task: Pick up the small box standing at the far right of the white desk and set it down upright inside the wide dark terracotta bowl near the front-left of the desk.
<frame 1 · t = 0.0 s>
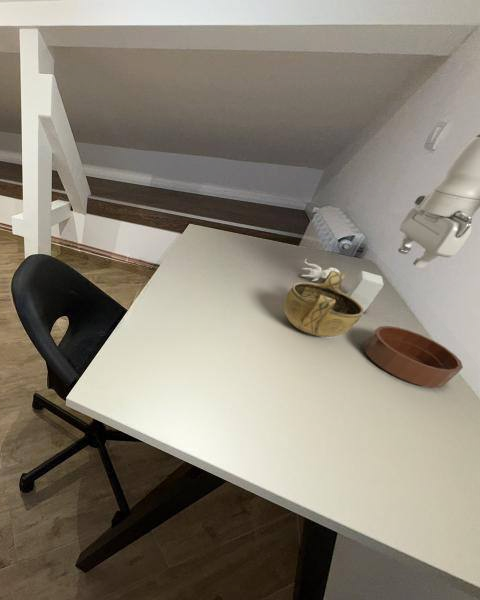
hand: (409, 259, 81), 23 cm above the table, tool pointing down, fingers open, 8 cm apart
ceramic bowl: (306, 328, 91), on the table
terracotta bowl: (400, 363, 81), on the table
small box: (353, 304, 105), on the table
figurine: (315, 279, 119), on the table
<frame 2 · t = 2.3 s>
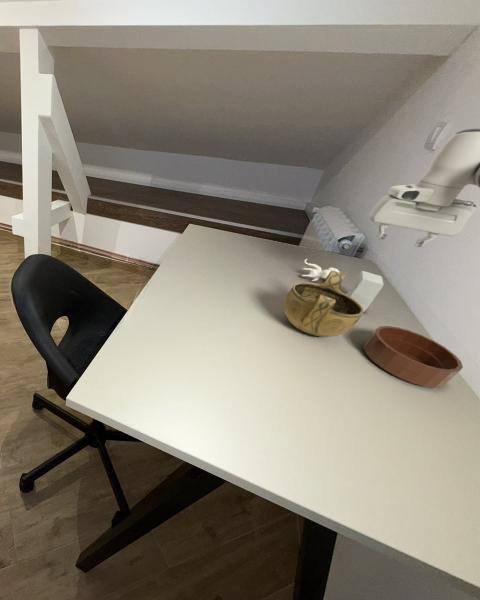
hand: (398, 242, 92), 23 cm above the table, tool pointing down, fingers open, 8 cm apart
nothing on the table moved.
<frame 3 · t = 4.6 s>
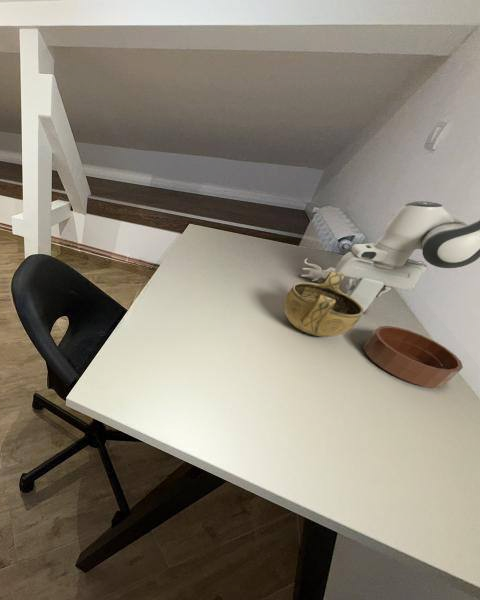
hand: (361, 292, 103), 5 cm above the table, tool pointing down, fingers closed on small box, 6 cm apart
small box: (353, 304, 105), on the table, touching gripper
everything else where it was.
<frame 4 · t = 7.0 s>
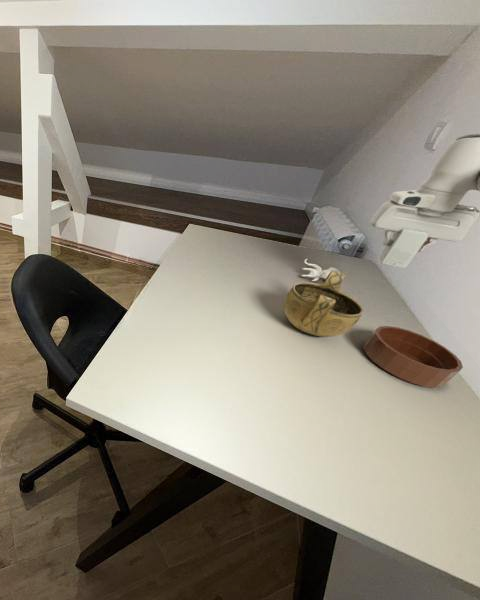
hand: (401, 248, 91), 22 cm above the table, tool pointing down, fingers closed on small box, 6 cm apart
small box: (390, 263, 94), point 17 cm above the table, touching gripper
everything else where it was.
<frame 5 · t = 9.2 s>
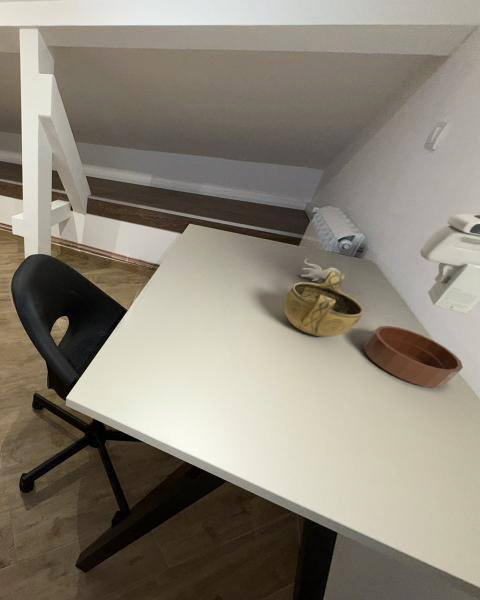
hand: (459, 286, 71), 22 cm above the table, tool pointing down, fingers closed on small box, 6 cm apart
small box: (444, 303, 73), point 17 cm above the table, touching gripper
everything else where it was.
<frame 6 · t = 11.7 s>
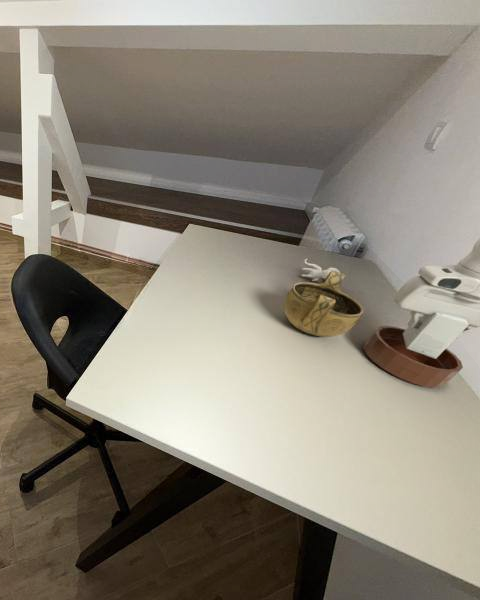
hand: (430, 331, 75), 11 cm above the table, tool pointing down, fingers closed on small box, 6 cm apart
small box: (417, 346, 78), point 6 cm above the table, touching gripper
everything else where it was.
when the fingers open (5 cm above the table, at t = 13.7 s): small box stays where it is, resting on terracotta bowl.
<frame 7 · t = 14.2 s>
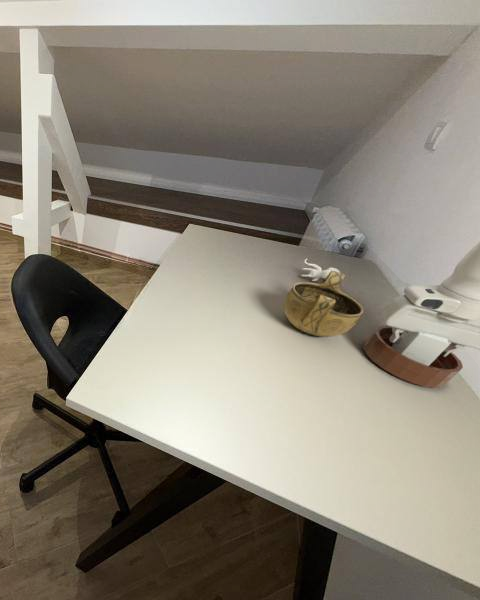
hand: (415, 348, 78), 6 cm above the table, tool pointing down, fingers open, 8 cm apart
small box: (402, 362, 81), resting on terracotta bowl
everything else where it was.
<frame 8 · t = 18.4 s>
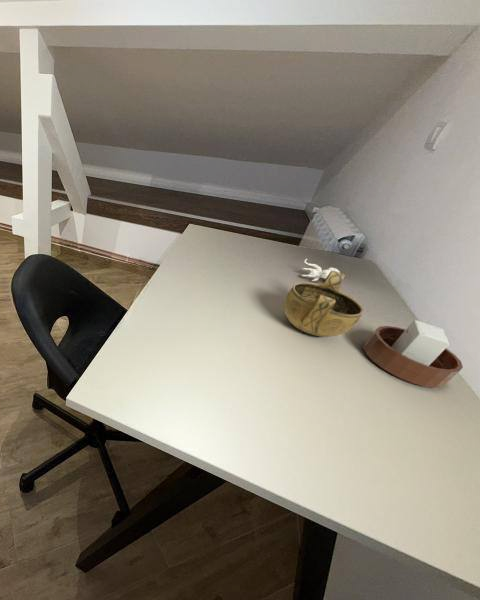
nothing on the table moved.
at the end: small box inside the target area in the terracotta bowl (0.1 cm from its centre), point 0.4 cm above the terracotta bowl's base; small box tilted 0° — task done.
